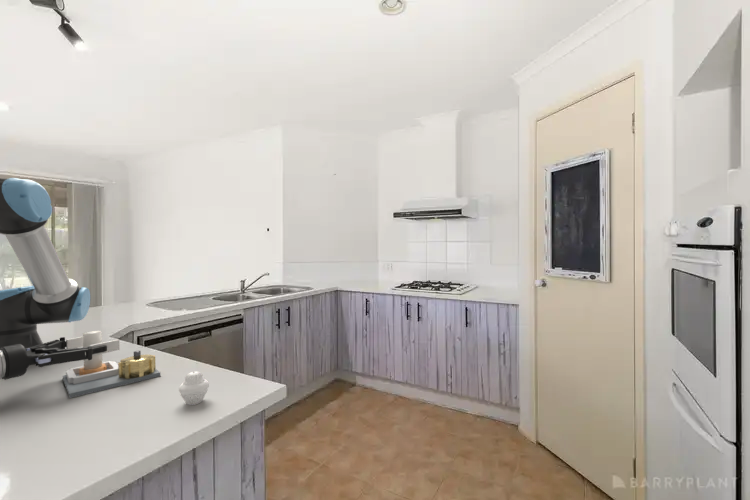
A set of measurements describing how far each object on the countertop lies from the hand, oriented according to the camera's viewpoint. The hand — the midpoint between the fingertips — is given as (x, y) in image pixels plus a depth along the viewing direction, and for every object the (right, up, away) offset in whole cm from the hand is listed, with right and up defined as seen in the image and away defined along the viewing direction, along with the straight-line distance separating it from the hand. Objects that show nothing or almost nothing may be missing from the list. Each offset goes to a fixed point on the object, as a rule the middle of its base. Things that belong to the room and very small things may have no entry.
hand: (106, 341), depth 100 cm
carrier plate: (+4, -9, -3) cm, 10 cm away
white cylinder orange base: (-1, -8, -3) cm, 9 cm away
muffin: (+35, -9, -19) cm, 41 cm away
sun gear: (+11, -9, -3) cm, 14 cm away
